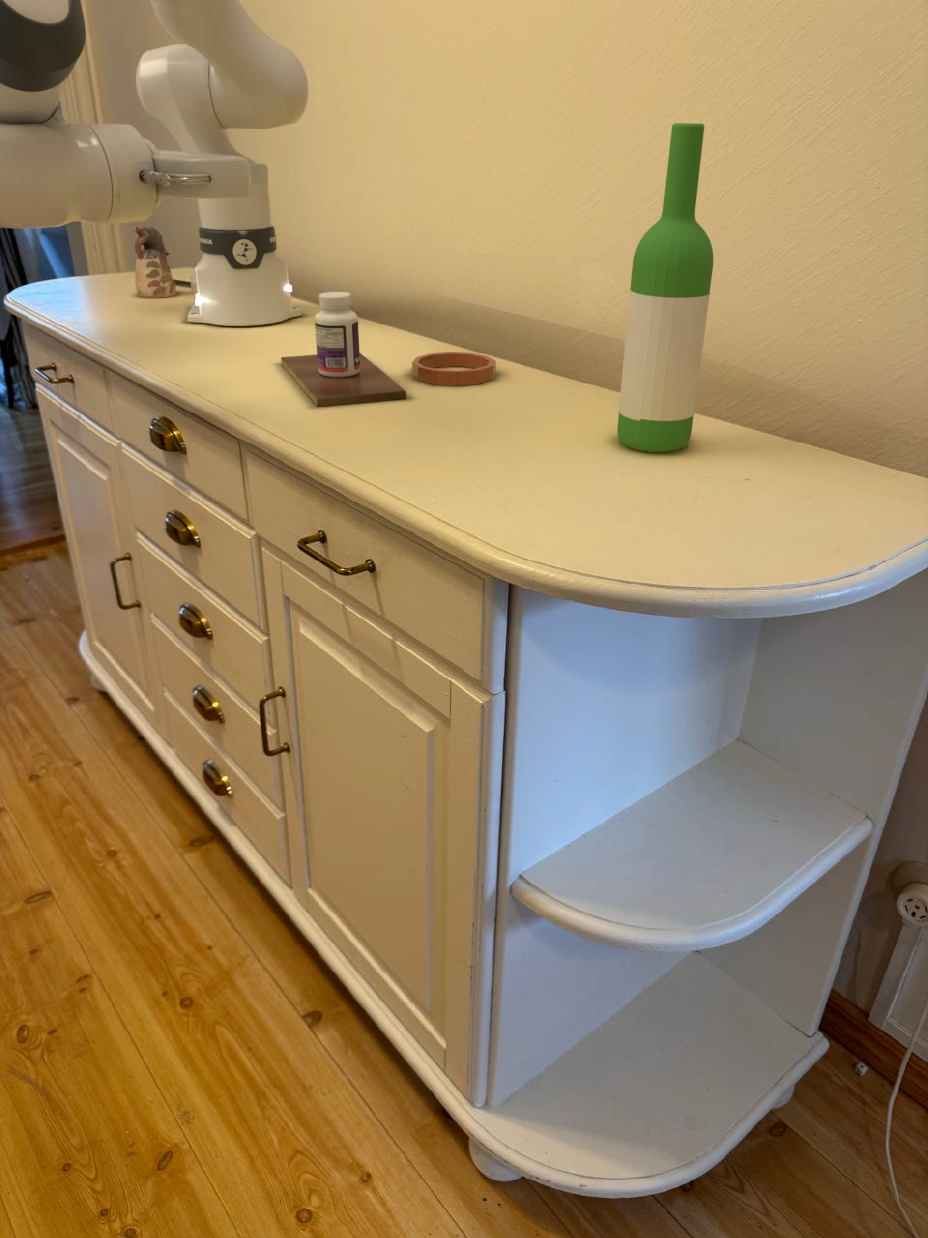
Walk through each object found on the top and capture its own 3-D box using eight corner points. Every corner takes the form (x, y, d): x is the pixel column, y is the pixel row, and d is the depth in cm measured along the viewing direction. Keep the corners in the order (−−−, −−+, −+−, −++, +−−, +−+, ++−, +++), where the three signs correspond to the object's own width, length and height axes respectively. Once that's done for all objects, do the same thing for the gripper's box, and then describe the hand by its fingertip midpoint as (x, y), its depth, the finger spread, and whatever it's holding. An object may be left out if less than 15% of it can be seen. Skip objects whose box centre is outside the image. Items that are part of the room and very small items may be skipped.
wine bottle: (684, 459, 94) (727, 124, 79) (608, 449, 96) (637, 122, 82) (694, 437, 100) (736, 123, 86) (623, 429, 103) (653, 122, 88)
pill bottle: (343, 365, 123) (339, 288, 118) (369, 373, 119) (365, 294, 114) (309, 372, 119) (304, 293, 114) (335, 380, 116) (330, 299, 111)
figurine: (184, 294, 173) (175, 225, 168) (150, 299, 169) (139, 228, 163) (164, 289, 178) (154, 222, 172) (130, 294, 173) (119, 225, 167)
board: (281, 364, 127) (280, 356, 127) (358, 358, 131) (358, 351, 130) (317, 406, 109) (316, 398, 109) (406, 398, 113) (406, 390, 112)
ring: (402, 368, 126) (402, 355, 125) (476, 362, 129) (477, 349, 128) (428, 388, 117) (428, 374, 116) (507, 381, 120) (507, 367, 119)
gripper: (166, 141, 84) (293, 140, 92) (69, 135, 97) (188, 134, 105) (176, 217, 87) (297, 209, 96) (80, 201, 100) (195, 195, 108)
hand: (239, 170), depth 100 cm, fingers open, 8 cm apart
